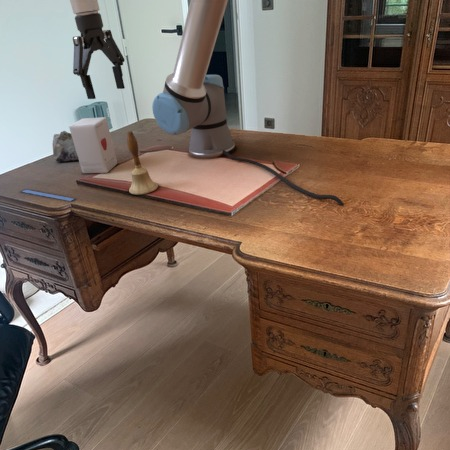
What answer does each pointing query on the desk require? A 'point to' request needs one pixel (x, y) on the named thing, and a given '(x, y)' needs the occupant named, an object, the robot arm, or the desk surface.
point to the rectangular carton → (93, 145)
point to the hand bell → (139, 171)
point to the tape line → (48, 195)
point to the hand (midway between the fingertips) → (106, 93)
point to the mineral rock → (64, 147)
